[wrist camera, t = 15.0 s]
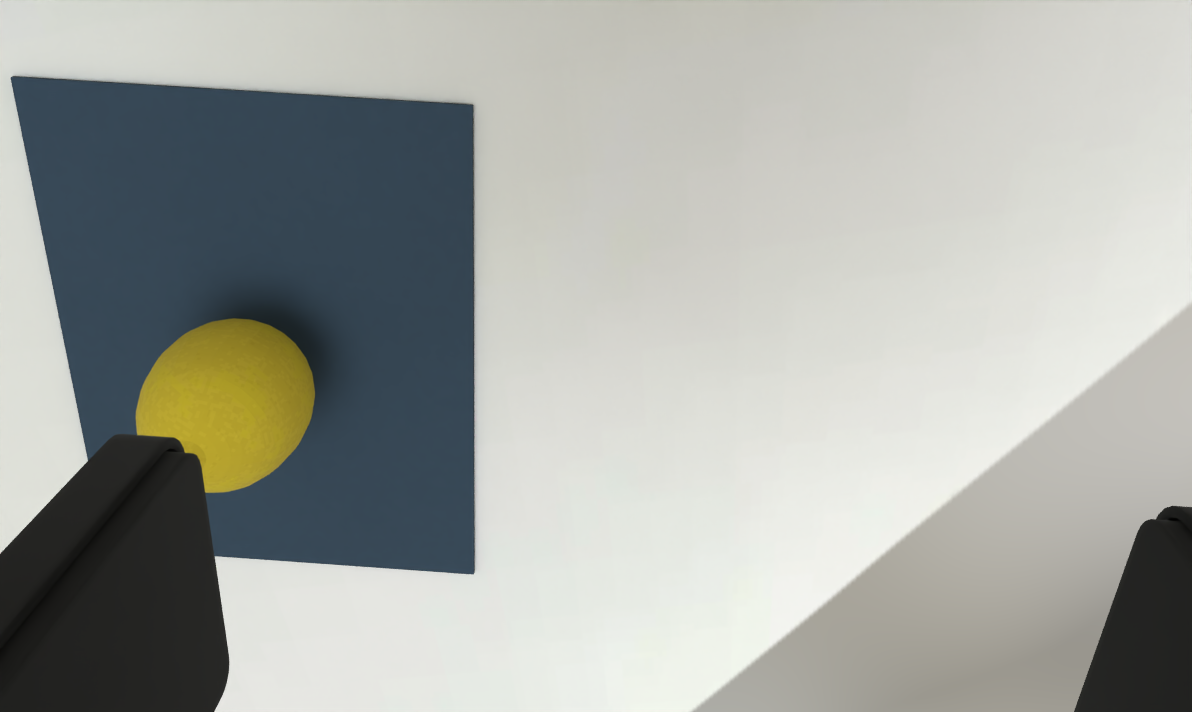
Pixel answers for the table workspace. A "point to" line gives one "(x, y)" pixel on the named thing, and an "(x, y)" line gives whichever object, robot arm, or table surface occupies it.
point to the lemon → (230, 400)
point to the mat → (278, 292)
